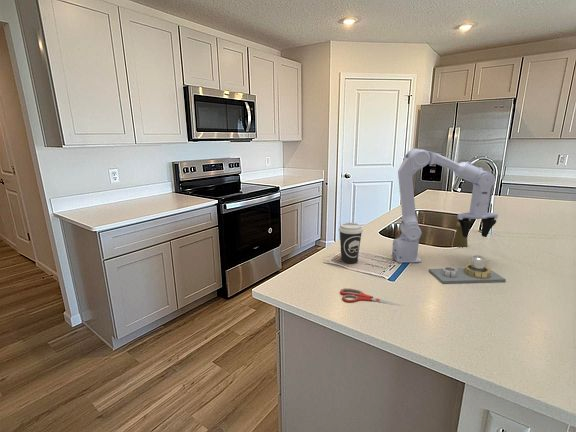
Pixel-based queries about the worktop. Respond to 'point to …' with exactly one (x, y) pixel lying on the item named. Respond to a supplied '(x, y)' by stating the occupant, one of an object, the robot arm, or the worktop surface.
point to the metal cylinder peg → (478, 263)
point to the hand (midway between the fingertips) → (474, 236)
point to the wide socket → (476, 274)
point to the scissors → (361, 297)
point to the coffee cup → (350, 242)
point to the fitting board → (464, 277)
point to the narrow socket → (449, 271)
